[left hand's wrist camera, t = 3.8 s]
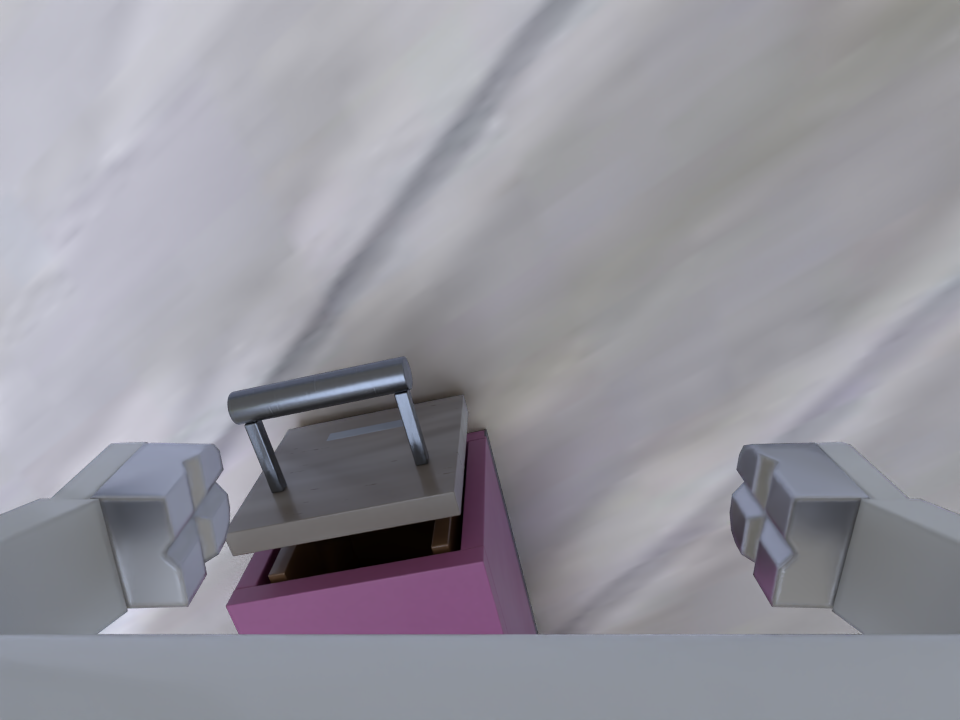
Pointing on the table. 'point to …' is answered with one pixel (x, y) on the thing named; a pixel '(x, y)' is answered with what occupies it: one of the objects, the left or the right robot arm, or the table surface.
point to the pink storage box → (406, 580)
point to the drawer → (352, 474)
